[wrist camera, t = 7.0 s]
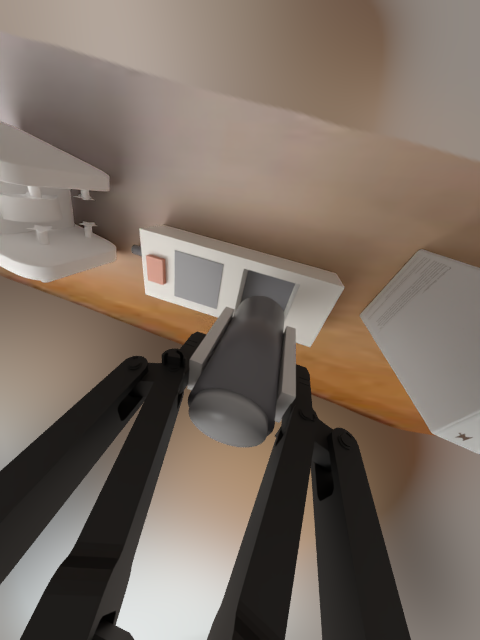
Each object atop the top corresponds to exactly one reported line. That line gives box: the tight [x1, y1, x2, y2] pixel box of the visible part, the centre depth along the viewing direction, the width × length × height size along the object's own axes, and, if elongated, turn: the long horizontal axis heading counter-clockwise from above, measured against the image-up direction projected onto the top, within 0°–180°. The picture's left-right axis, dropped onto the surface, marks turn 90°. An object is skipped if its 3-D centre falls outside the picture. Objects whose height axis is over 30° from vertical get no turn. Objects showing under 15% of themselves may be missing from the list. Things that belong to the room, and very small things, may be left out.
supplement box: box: [360, 249, 480, 455], centre depth 15 cm, size 9×9×15 cm
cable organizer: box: [0, 121, 116, 282], centre depth 20 cm, size 15×11×12 cm
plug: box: [188, 296, 285, 447], centre depth 13 cm, size 5×5×10 cm
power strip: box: [131, 225, 345, 347], centre depth 23 cm, size 26×8×5 cm, turn 78°
